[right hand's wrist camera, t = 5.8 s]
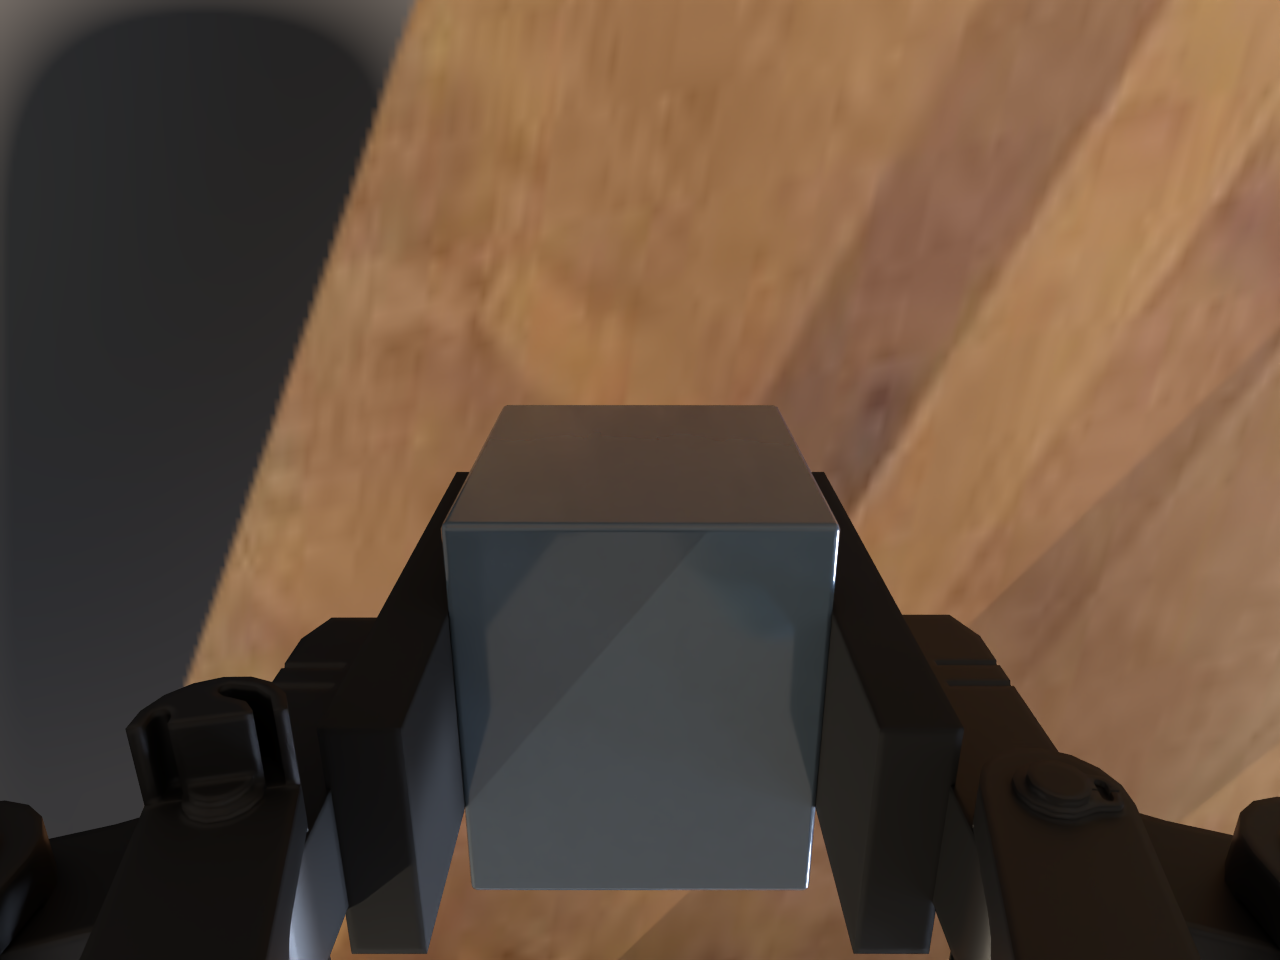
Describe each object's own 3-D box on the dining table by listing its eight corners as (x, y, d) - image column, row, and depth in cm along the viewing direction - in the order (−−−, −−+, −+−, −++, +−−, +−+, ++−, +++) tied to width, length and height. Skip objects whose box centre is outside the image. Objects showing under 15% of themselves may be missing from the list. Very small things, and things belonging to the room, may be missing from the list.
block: (502, 403, 14) (438, 525, 9) (778, 403, 14) (841, 525, 9) (517, 682, 16) (470, 893, 11) (762, 682, 16) (810, 893, 11)
